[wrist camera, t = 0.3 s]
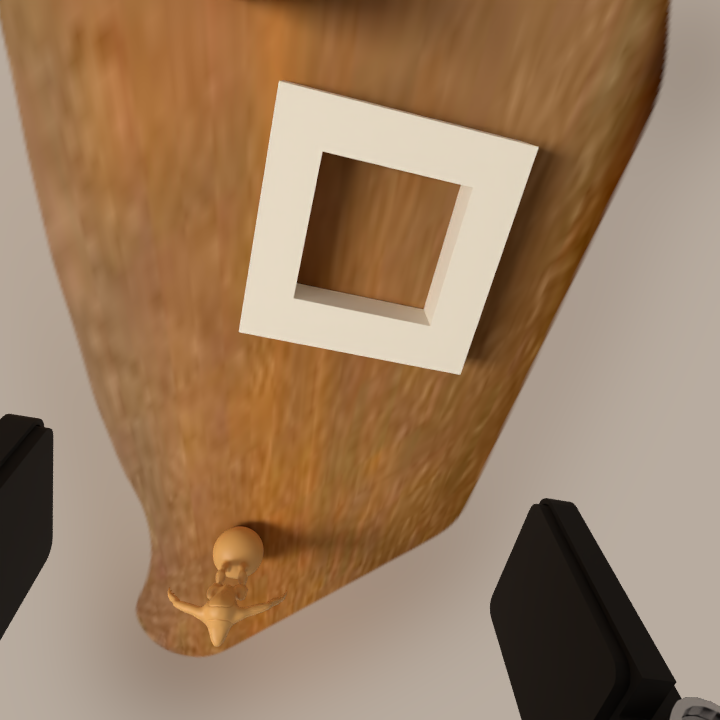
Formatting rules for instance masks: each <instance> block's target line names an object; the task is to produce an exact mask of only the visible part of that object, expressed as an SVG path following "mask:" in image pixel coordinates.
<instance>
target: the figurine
mask: <svg viewBox="0 0 720 720" xmlns="http://www.w3.org/2000/svg"><path fill="white" fill-rule="evenodd" d="M263 554H264V548H263V543H262V541H261V539H260V537H259V536H258V534H257V533H256V532H255V531H253V530H252V529H250V528H247V527H241V526H238V527H233V528H230V529H228V530H226V531H225V532H223V533H222V534H221V535H220V536H219V538H218V539H217V541H216V543H215V545H214V549H213V559H214V563H215V565H216V567H217V569H218V570H219V571H218V572H217V574H216V582H217V583H214V584H213V585H212V586H210V587H209V588H208V591H207V597H208V599H210V600H209V601H208V602H207V603H206V604H205V605H204V606H196V605H193V604H190V603H187V602H183V601H180V600H179V599H178V597H177V596H175V595H173V594H174V593H171V591H172V590H170V588H169V589H168V597H169V599H170V601H171V602H172V603H173V605H174V606H175V607H176V608H178V609H179V610H181V611H183V612H186V613H188V614H191V615H193V616H195V617H196V618H198V619H200V620H201V621H203V622H204V623H205V624H206V625H207V627H208V630H209V633H210V637H211V641H212V643H213V645H214V646H216V647H218V646H220V645H222V643H223V642H224V640H225V638H226V636H227V634H228V632H229V630H230V628H231V627H232V625H234V624H235V623H237V622H238V621H240V620H242V619H244V618H246V617H248V616H251V615H255V614H258V613H261V612H264V611H266V610H268V609H270V608H271V607H272V606H275V605H277V604H279V603H280V602H281V601H283V600H284V598H285V596H286V594H287V590H286V592H285V593H284V595H282V596H281V597H277V598H274V599H272V600H270V601H268V602H267V603H261V604H256V605H252V606H248V607H239V606H238V605H237V601H236V599H239V600H243V599H245V597H246V594H247V591H248V589H247V587H246V586H245V584H246V581H247V576H249V575H251V574H252V573H253V572H255V571H256V570H257V568H258V567H259V565H260V564H261V562H262V559H263ZM226 576H227V577H229V578H234V579H238V581H239V583H240V584H238V585H235V586H234V587H232V586H230V585H222V583H223V581H224V580H225V577H226Z"/></svg>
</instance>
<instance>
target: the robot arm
mask: <svg viewBox="0 0 720 720" xmlns="http://www.w3.org/2000/svg"><path fill="white" fill-rule="evenodd" d="M52 530H53V431H52V429H50V428H45V427H44V423H43V421H42V420H41V419H39V418H32V417H26V416H19V415H14V414H6V415H5V416H3V417H2V418H1V419H0V640H1V638H2V636H3V635H4V633H5V631H6V629H7V628H8V626H9V624H10V622H11V621H12V619H13V617H14V615H15V614H16V612H17V610H18V608H19V607H20V605H21V603H22V602H23V600H24V598H25V596H26V595H27V593H28V591H29V590H30V588H31V586H32V584H33V583H34V581H35V579H36V578H37V576H38V574H39V572H40V571H41V569H42V567H43V565H44V564H45V562H46V560H47V558H48V556H49V553H50V550H51V546H52V537H53V531H52ZM490 614H491V618H492V622H493V625H494V629H495V632H496V635H497V639H498V642H499V645H500V648H501V652H502V655H503V659H504V662H505V665H506V669H507V672H508V675H509V679H510V682H511V685H512V689H513V692H514V696H515V699H516V702H517V705H518V709H519V712H520V716H521V719H522V720H720V706H718V705H716V704H714V703H713V702H711V701H707V700H704V699H701V698H698V697H685V698H683V699H681V697H680V695H679V693H678V692H677V690H676V688H675V686H674V685H675V683H676V680H675V679H674V677H673V675H672V674H671V672H670V670H669V668H668V666H667V665H666V663H665V661H664V659H663V658H662V656H661V654H660V652H659V651H658V649H657V647H656V646H655V644H654V642H653V640H652V638H651V637H650V635H649V633H648V631H647V630H646V628H645V626H644V624H643V623H642V621H641V619H640V617H639V616H638V614H637V612H636V611H635V609H634V607H633V606H632V603H631V602H630V600H629V598H628V596H627V595H626V593H625V591H624V590H623V588H622V586H621V584H620V583H619V581H618V579H617V577H616V575H615V574H614V572H613V570H612V568H611V567H610V565H609V563H608V561H607V560H606V558H605V556H604V555H603V553H602V551H601V549H600V548H599V546H598V544H597V542H596V540H595V539H594V537H593V535H592V533H591V532H590V530H589V528H588V526H587V525H586V523H585V521H584V520H583V518H582V516H581V514H580V512H579V511H578V509H577V507H576V506H575V505H574V504H573V503H571V502H566V501H561V500H554V499H548V498H545V499H542V500H541V501H540V503H539V504H534V505H533V506H532V507H531V508H530V510H529V513H528V515H527V517H526V519H525V522H524V524H523V526H522V529H521V531H520V534H519V535H518V538H517V540H516V543H515V545H514V547H513V549H512V552H511V554H510V556H509V558H508V561H507V563H506V566H505V568H504V570H503V572H502V575H501V577H500V579H499V582H498V584H497V586H496V588H495V591H494V593H493V595H492V598H491V603H490Z"/></svg>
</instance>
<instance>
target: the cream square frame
mask: <svg viewBox="0 0 720 720" xmlns="http://www.w3.org/2000/svg"><path fill="white" fill-rule="evenodd" d="M538 148H539V147H537V146H534V145H531V144H529V143H526V142H523V141H519V140H515V139H512V138H508V137H504V136H500V135H496V134H492V133H488V132H484V131H480V130H476V129H472V128H468V127H465V126H461V125H457V124H453V123H449V122H445V121H441V120H437V119H433V118H429V117H425V116H422V115H418V114H414V113H410V112H406V111H402V110H398V109H394V108H390V107H386V106H382V105H378V104H375V103H371V102H367V101H363V100H359V99H355V98H351V97H347V96H343V95H339V94H335V93H331V92H328V91H324V90H320V89H316V88H312V87H308V86H304V85H300V84H296V83H292V82H288V81H285V80H281V81H279V84H278V91H277V97H276V103H275V109H274V116H273V122H272V128H271V134H270V141H269V147H268V153H267V159H266V166H265V172H264V178H263V184H262V191H261V197H260V203H259V209H258V215H257V222H256V228H255V234H254V240H253V247H252V253H251V259H250V265H249V272H248V278H247V284H246V290H245V297H244V303H243V309H242V315H241V321H240V328H239V332H241V333H247V334H252V335H257V336H262V337H267V338H272V339H278V340H283V341H288V342H293V343H298V344H303V345H309V346H314V347H319V348H324V349H329V350H335V351H340V352H345V353H350V354H355V355H360V356H366V357H371V358H376V359H381V360H386V361H392V362H397V363H402V364H407V365H412V366H417V367H423V368H428V369H433V370H438V371H443V372H449V373H454V374H459V375H460V374H461V371H462V368H463V365H464V362H465V360H466V357H467V354H468V351H469V348H470V345H471V342H472V339H473V336H474V333H475V331H476V328H477V325H478V322H479V319H480V316H481V313H482V310H483V307H484V304H485V302H486V299H487V296H488V293H489V290H490V287H491V284H492V281H493V278H494V275H495V273H496V270H497V267H498V264H499V261H500V258H501V255H502V252H503V249H504V246H505V244H506V241H507V238H508V235H509V232H510V229H511V226H512V223H513V220H514V217H515V215H516V212H517V209H518V206H519V203H520V200H521V197H522V194H523V191H524V188H525V186H526V183H527V180H528V177H529V174H530V171H531V168H532V165H533V162H534V159H535V157H536V154H537V151H538ZM322 152H327V153H331V154H335V155H339V156H344V157H348V158H352V159H356V160H360V161H364V162H369V163H373V164H377V165H381V166H385V167H389V168H393V169H398V170H402V171H406V172H410V173H414V174H418V175H423V176H427V177H431V178H435V179H439V180H443V181H447V182H452V183H456V184H460V185H461V187H460V190H459V193H458V197H457V200H456V203H455V207H454V210H453V213H452V217H451V220H450V223H449V227H448V230H447V233H446V237H445V240H444V243H443V247H442V250H441V253H440V257H439V260H438V263H437V267H436V270H435V274H434V277H433V280H432V284H431V287H430V290H429V294H428V297H427V300H426V304H425V307H424V309H419V308H414V307H409V306H404V305H400V304H395V303H390V302H385V301H380V300H376V299H371V298H366V297H361V296H356V295H351V294H347V293H342V292H337V291H332V290H327V289H322V288H318V287H313V286H308V285H303V284H298V283H297V278H298V273H299V268H300V263H301V258H302V253H303V248H304V243H305V238H306V232H307V227H308V222H309V217H310V212H311V207H312V202H313V197H314V192H315V187H316V182H317V177H318V172H319V167H320V162H321V157H322Z"/></svg>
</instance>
